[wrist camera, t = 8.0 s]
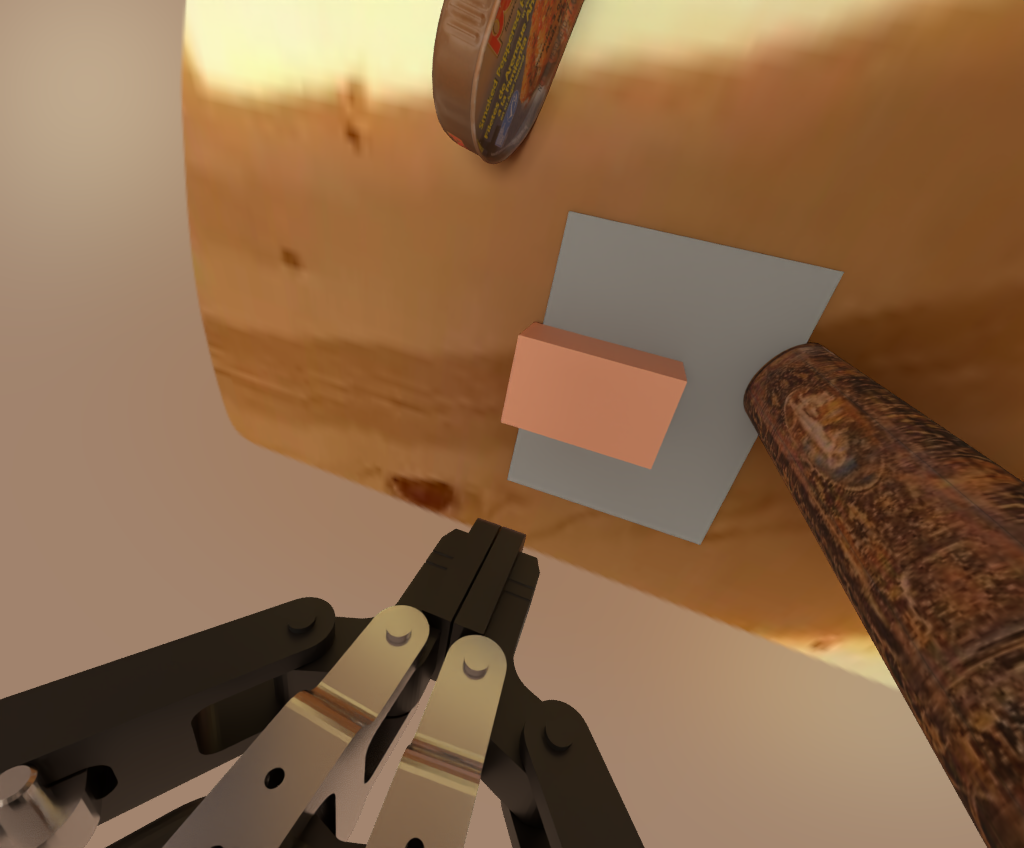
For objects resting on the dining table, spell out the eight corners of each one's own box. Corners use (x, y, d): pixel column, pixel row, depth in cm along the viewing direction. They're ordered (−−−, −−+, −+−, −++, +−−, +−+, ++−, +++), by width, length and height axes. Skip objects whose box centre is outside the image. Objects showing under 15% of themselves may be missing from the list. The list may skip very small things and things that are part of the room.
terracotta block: (534, 321, 29) (682, 362, 28) (516, 400, 32) (650, 441, 31) (518, 334, 26) (687, 381, 24) (500, 422, 29) (650, 469, 27)
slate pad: (841, 271, 24) (844, 272, 24) (699, 542, 33) (700, 544, 33) (570, 211, 26) (569, 210, 26) (508, 477, 36) (507, 479, 35)
